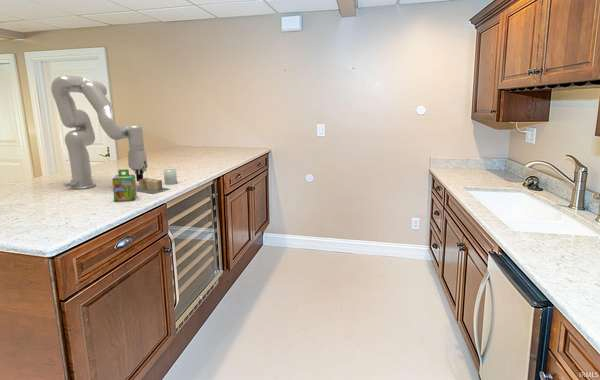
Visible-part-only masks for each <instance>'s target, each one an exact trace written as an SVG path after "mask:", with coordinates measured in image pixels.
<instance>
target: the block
mask: <svg viewBox="0 0 600 380" xmlns="http://www.w3.org/2000/svg"><path fill="white" fill-rule="evenodd" d="M138 183H139V185H138V186H139V189H146V190H152V191H158V190H161V189H163V188H164V187H163V179H156V178H155V179H154V178H148V177H143V179H140V180H139V181H138Z"/></svg>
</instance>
